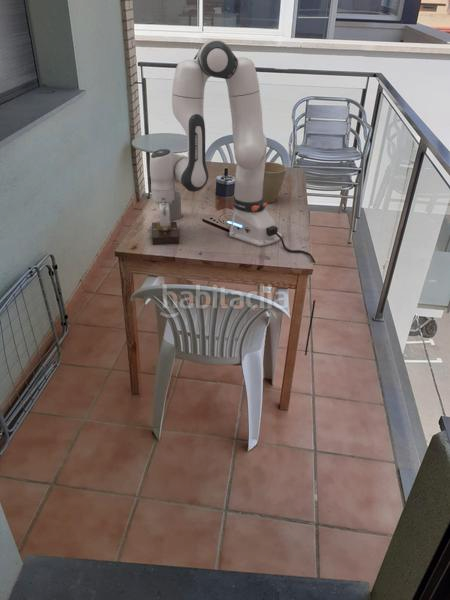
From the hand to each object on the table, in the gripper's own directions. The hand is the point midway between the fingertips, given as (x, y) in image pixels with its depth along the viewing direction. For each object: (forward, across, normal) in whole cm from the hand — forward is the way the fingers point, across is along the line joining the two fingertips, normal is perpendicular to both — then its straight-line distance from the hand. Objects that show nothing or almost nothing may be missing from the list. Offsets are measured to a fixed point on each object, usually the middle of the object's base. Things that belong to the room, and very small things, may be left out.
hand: (164, 227), depth 185 cm
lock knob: (+1, 0, 0) cm, 1 cm away
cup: (+4, +19, -4) cm, 20 cm away
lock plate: (+4, 0, 0) cm, 4 cm away
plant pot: (+4, +34, -49) cm, 60 cm away
